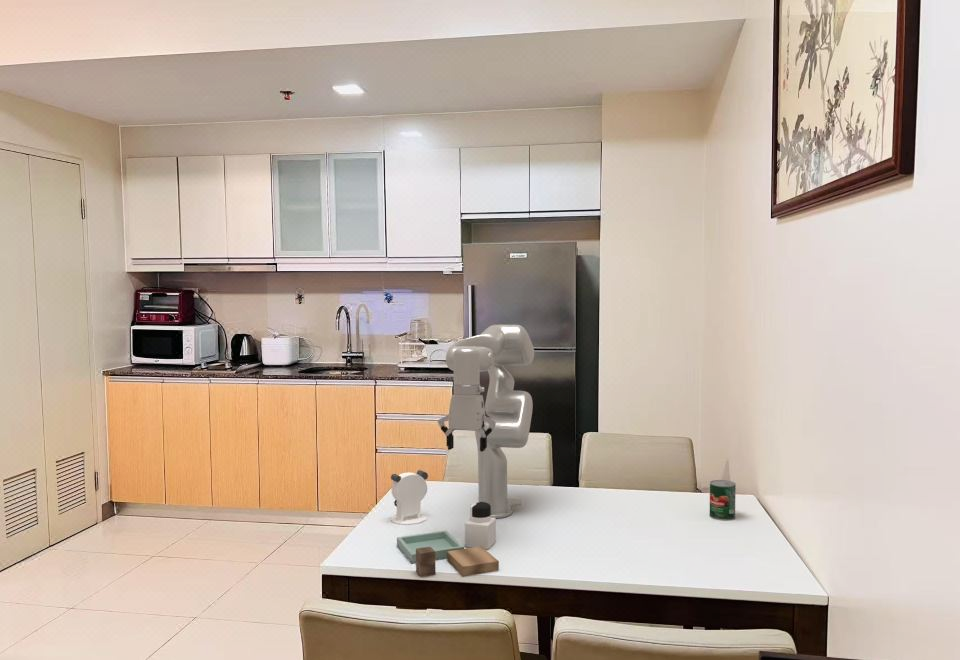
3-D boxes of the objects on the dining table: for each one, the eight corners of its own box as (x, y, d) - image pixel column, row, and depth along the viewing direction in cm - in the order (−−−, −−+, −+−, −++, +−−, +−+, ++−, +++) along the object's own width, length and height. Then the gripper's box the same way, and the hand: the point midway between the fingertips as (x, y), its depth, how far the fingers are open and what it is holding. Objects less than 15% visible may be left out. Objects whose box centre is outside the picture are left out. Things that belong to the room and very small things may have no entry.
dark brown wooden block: (430, 569, 188) (430, 546, 188) (435, 574, 185) (435, 551, 184) (416, 571, 187) (415, 548, 187) (420, 576, 183) (420, 553, 183)
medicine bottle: (496, 541, 209) (495, 501, 208) (488, 550, 202) (488, 508, 202) (473, 539, 211) (472, 499, 211) (464, 547, 204) (464, 505, 204)
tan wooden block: (481, 556, 198) (481, 546, 198) (498, 572, 187) (498, 561, 187) (447, 562, 194) (447, 551, 194) (462, 578, 183) (462, 566, 183)
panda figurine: (417, 511, 239) (417, 466, 238) (434, 520, 229) (434, 473, 229) (385, 517, 232) (384, 472, 232) (401, 527, 223) (400, 479, 222)
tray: (446, 538, 212) (446, 530, 212) (464, 555, 198) (464, 546, 198) (396, 545, 206) (396, 537, 206) (411, 563, 192) (411, 554, 192)
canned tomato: (708, 519, 228) (708, 484, 228) (710, 512, 236) (710, 478, 235) (734, 521, 225) (735, 487, 225) (735, 514, 233) (736, 481, 232)
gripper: (498, 390, 208) (498, 449, 209) (442, 388, 213) (442, 446, 213) (492, 392, 201) (492, 453, 201) (434, 391, 206) (433, 450, 206)
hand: (466, 449), depth 207 cm, fingers open, 9 cm apart
